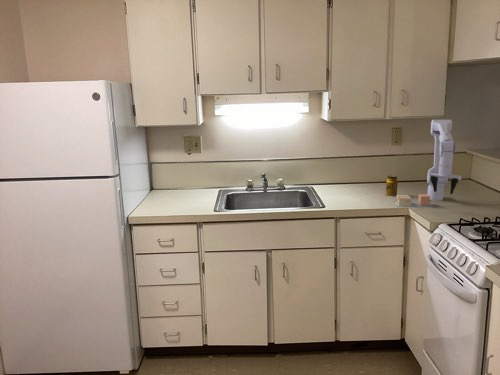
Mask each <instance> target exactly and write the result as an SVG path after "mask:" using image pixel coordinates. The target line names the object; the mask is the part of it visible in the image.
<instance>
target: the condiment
mask: <svg viewBox="0 0 500 375" xmlns="http://www.w3.org/2000/svg"><path fill="white" fill-rule="evenodd" d="M385 184H386V185H385V187H386V188H385V196H388V197H397V195H398V176H397V175H387V179H386V183H385Z"/></svg>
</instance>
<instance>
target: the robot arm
mask: <svg viewBox="0 0 500 375" xmlns="http://www.w3.org/2000/svg"><path fill="white" fill-rule="evenodd" d="M452 129H453V120H452V119H432V120H431V123H430V136H432V137H433V138H434V149H433V150H434V151H433V152H434V154H433V166H432V167H431V168H429V169H428V171H427V174H426V175H427V176H426V181H427V184H428V185H427V193H426V194H428V195H429V196H430V201H435V202H436V201H437V202H440V201H444V200H443V199H444V189H445V186H446V185H447V184H448V180H450V190H449V191H450V193H449V194H450V195H453V194H454V190H455V188H456V186H457V184H458V182H460V181H461V180H462V175H458V174H453V173H452V172H453V171H452V170H453V160H454V153H455V151H456V141H455V140H453V136H452V133H451V131H452Z"/></svg>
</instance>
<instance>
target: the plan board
mask: <svg viewBox="0 0 500 375" xmlns="http://www.w3.org/2000/svg"><path fill="white" fill-rule="evenodd" d="M392 202H393V203H394V204H395V205H396V206H397V207H398V208H435V206H434V205H433V204H431V203H430V206H420V205H419V204H418V200H414V201H412V200H411V205H398V204H397V203H396V200H392Z"/></svg>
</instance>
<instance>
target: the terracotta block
mask: <svg viewBox="0 0 500 375" xmlns="http://www.w3.org/2000/svg"><path fill="white" fill-rule="evenodd" d="M417 198H418V200H417V201H418V204H419V205H420V206H430V204H431V200H430V196H429V195H428V194H427V193H426V194H420V193H419V194H418V197H417Z"/></svg>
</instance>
